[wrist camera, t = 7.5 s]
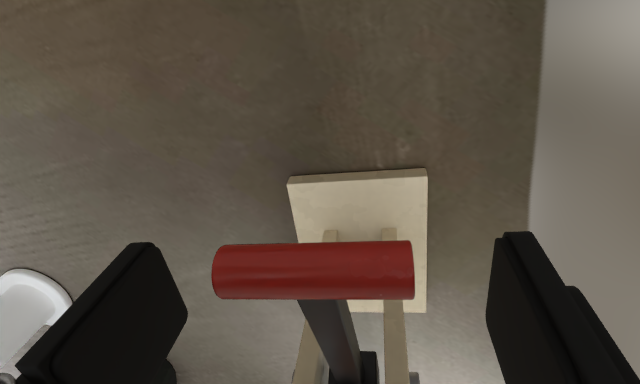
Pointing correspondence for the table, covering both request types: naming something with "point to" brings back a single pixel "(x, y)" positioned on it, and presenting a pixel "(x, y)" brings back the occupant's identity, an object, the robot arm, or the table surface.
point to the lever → (322, 289)
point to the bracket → (364, 225)
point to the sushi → (165, 375)
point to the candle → (27, 308)
